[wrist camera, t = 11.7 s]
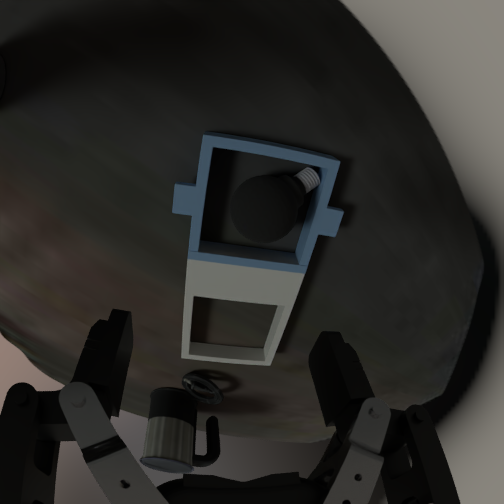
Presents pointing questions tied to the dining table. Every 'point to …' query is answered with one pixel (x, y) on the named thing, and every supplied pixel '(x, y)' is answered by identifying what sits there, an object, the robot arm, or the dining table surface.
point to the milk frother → (180, 427)
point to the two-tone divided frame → (250, 251)
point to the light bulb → (270, 204)
